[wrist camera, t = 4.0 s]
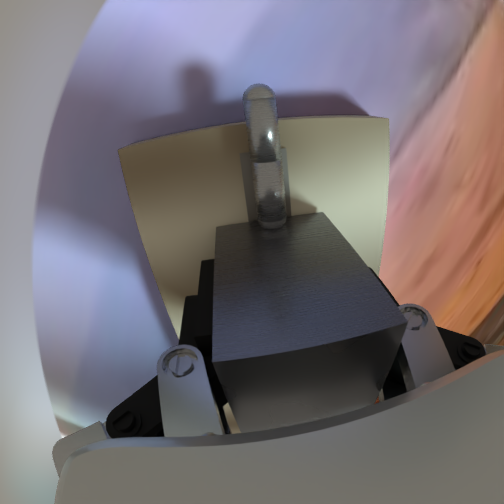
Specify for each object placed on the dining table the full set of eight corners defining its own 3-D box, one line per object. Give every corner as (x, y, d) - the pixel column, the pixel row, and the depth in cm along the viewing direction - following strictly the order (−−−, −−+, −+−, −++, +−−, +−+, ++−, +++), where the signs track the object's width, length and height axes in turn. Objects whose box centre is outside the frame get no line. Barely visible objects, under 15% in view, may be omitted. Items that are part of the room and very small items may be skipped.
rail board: (130, 144, 10) (116, 150, 8) (370, 115, 10) (390, 118, 9) (233, 435, 23) (234, 449, 21) (333, 418, 23) (337, 431, 21)
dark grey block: (193, 94, 8) (138, 68, 2) (315, 82, 8) (437, 65, 3) (236, 325, 12) (247, 446, 7) (320, 311, 13) (364, 422, 7)
